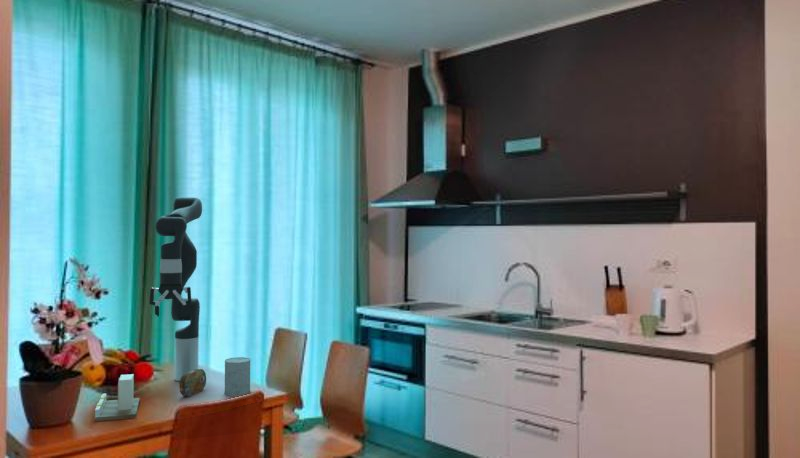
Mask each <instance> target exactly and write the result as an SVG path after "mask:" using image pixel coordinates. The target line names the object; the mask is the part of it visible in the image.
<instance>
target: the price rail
mask: <svg viewBox="0 0 800 458" xmlns="http://www.w3.org/2000/svg"><path fill="white" fill-rule="evenodd" d="M106 401H107V393H102V395H101V396H100V398H99V401H98V402H97V404H96V407H95V409H94V419H95V418H97V417H99V416H100V414H101V412H102V410H103V407H104V405H105V403H106Z"/></svg>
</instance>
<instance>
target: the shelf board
mask: <svg viewBox="0 0 800 458" xmlns="http://www.w3.org/2000/svg"><path fill="white" fill-rule="evenodd" d="M140 400H141V398H140V397H134V400H133V406H132V409H129V410H118V399H110V400H106V403H105V405H104V407H103V410H102V412H101V414H100V416H99V417H97V418H95V417H94V422H103V421H114V420H124V419H135V418H134V417H136V418H137V415H138V410H139V407H140V402H141V401H140Z"/></svg>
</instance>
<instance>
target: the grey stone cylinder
mask: <svg viewBox="0 0 800 458" xmlns="http://www.w3.org/2000/svg"><path fill="white" fill-rule="evenodd" d="M251 360H252V359H251V358H249V357H243V356H240V357H239V356H237V357H229V358H226V359H225V360H224V395H226V396H229V397H230V396H231V397H232V396H233V397H237V396H238V395H240V396H243V395H242V394H245V395H247V394H246V393H248V394H250V393H251ZM249 392H250V393H249ZM238 397H239V396H238Z"/></svg>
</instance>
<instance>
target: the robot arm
mask: <svg viewBox="0 0 800 458" xmlns="http://www.w3.org/2000/svg"><path fill="white" fill-rule="evenodd" d="M172 205H173V206H172V212H171V213H169V214H165V215H162V216H160V217H159V218H158V219H157V220H156V223H155V226H154V228H155V231H156V233H157V235H159V236H162V237H173V240H172V241H170V242H164V243H162V244H161V246H160V264H159V287H151V288H150V292H149V305H152V306H154V315H155V316H156V317H160V303H161V302H162V301H163V300H164V299H165V300H171V308H170V310H171V311H170V313H171V319H172V320H173V321H175V322H186V321H187V322H188V321H189V324H188V325H186V326H185V327H182V328H180V329H177V330H175V333H174V381H178V382H180V379H181V377H182V376H183V375H184V374H186V373H189V372H191V371H193V370H196V369H199V351H200V350H199V348H200V347H199V346H200V345H199V342H200V341H199V337H200V334H199V330H200V329H199V327H200V325H199V323H200V311H201V306H200V305H201V304H200V300H199V299H198V298H192V291H191V286H187V287H185V286H186V284H187V283H188V281H189V280H190V278H191V277H192V275H193V274H194V272H195V271H196V268H197V262H198V258H197V257H198V251H197V248H196V246H195V245H194V243H193V241H192V240H191V238H190V237H189V236H188V233H187V227H188V224H190V223H191V222H192V221H193V222H194V221H195V220H199V219H200V218H201V215H202V214H203V213H202V212H203V204H202V201H201V199H200V198H198V197H191V196H190V197H189V196H188V197H187V196H186V197H184V196H183V197H182V196H181V197H180V196H177V197H175V199H174V201H173V204H172ZM183 291H184V292H185V294H187V298H183V296H182V293H183ZM157 293H159V294H160V296H159V297H158V299H157V300H156V301H155V300H154V297H155V295H156V294H157Z"/></svg>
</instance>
